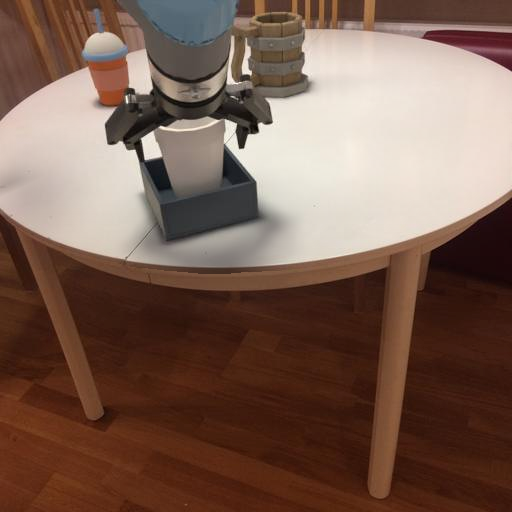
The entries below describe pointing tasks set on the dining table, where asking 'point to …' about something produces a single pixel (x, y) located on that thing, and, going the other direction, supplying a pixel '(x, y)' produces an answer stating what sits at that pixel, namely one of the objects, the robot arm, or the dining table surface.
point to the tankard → (272, 53)
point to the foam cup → (193, 154)
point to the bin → (200, 199)
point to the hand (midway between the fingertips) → (190, 146)
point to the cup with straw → (107, 64)
